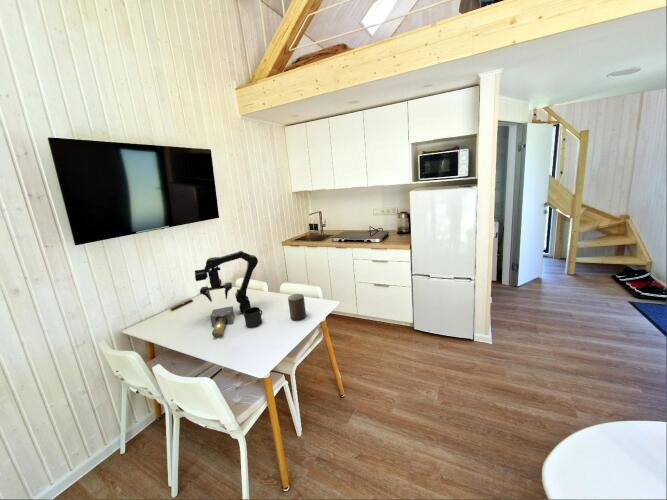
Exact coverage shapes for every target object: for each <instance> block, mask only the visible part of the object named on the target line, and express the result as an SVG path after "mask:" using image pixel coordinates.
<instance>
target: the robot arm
mask: <svg viewBox="0 0 667 500" xmlns="http://www.w3.org/2000/svg"><path fill="white" fill-rule="evenodd" d="M238 259H241V260H244V261H245V262H246V263H247V265H246V270H245V273H244V276H243V280H242V282H241V285H240V288H239V289H236V292H235V295H234V296H235V299H236V302H237V303H238V304H239V306H238V307H239V312H240V314H241V315H244V311H245V310H246V309H248V308H252V306H251V301H250V299H249V296H247V290H248V286H249V284H250V280H251V277H252V274H253V272H254V269H256V267H257V265H258V263H259V259H258V257H257V256H256V255H254V254H252V255H251V254H249V253H246V252H244V251H243V250H239V251H237V252H233V253H230V254H226V255H223V256H222V255H221V256H218V257H217V256H212V257H208V258H207V259H206V262H205V266H204V268H203V269H202V268H201V269H195V270H194V279H195V281H196V282H200V281H206V280H207V278H208V279H209V284H210V287H209V286H207V285H206V286H202V287H201V288H200V290H199V294H200V295H203V296H205V297H206V298H207V299H208V300H209V301H210V303H212V302H213V299H212V296H211V293H210V291H215V290H222V289H225V290H224V295H225V299H226V300H228V293H229V291H230V290H231V289H232V288H233V283H232V282H225V283H224V284H222V279H221V278H220V275H219V271H221V267H220V265H222V264H225V263H228V262H232V261H235V260H238Z"/></svg>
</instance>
